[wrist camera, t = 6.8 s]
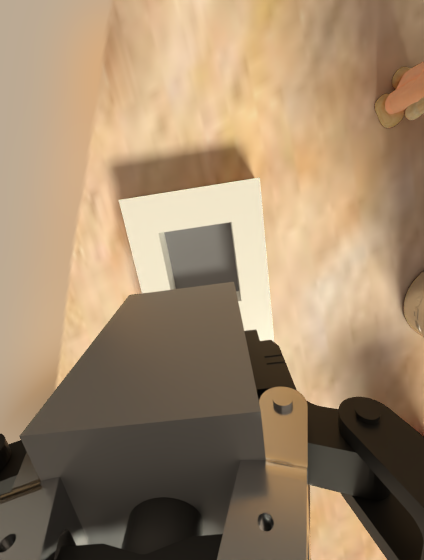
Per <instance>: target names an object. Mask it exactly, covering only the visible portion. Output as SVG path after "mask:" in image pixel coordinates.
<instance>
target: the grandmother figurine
mask: <svg viewBox="0 0 424 560" xmlns="http://www.w3.org/2000/svg"><path fill="white" fill-rule="evenodd" d="M392 85H393V87H394V88H395V89H396V90H395V91H393V92H392V93H391V94H384V95H382V96H381V97H380V98H379V99H378V100H377V101H376V103H375V111H376V114H377V116H378V118H379V120H380V122H381V124H382V126H384V127H385V128H391V127H394V126H395V125H397V124H398V123H399V122H400V121H401V120H402V118H403V116H404V109H406V108H407V109H406V111H405V116H406V118H407V119H409V120H415V119H417V118H418V117H420V116H421V115H422V114H424V62H422V63H420V64H418V65H416V66H415V67H413V68H409V67H401V68H400V69H398V70H397V71H396V73H395V75H394V76H393V79H392Z"/></svg>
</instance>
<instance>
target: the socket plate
mask: <svg viewBox="0 0 424 560" xmlns="http://www.w3.org/2000/svg"><path fill="white" fill-rule="evenodd" d="M119 204H120V208H121V212H122V216H123V220H124V224H125V228H126V232H127V236H128V240H129V244H130V248H131V252H132V256H133V260H134V264H135V268H136V272H137V276H138V279H139V283H140V287H141V291H142V293H150V292H158V291H165V290H173V289H181V288H189V287H196V286H204V285H212V284H220V283H228V282H234V284H235V288H236V293H237V298H238V303H239V308H240V313H241V318H242V322H243V327H244V331H246V330H255V329H256V330H257V333H258V336H259V340H260V341H264V340H272V341H273V342H274V332H273V321H272V310H271V299H270V287H269V276H268V265H267V254H266V242H265V231H264V220H263V208H262V197H261V186H260V178H253V179H247V180H241V181H235V182H228V183H222V184H216V185H210V186H203V187H197V188H191V189H185V190H178V191H172V192H166V193H159V194H153V195H147V196H141V197H134V198H128V199H122V200H119Z"/></svg>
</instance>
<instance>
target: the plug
mask: <svg viewBox="0 0 424 560" xmlns="http://www.w3.org/2000/svg"><path fill="white" fill-rule="evenodd" d="M20 439H21V441H22V443H23V445H24V447H25V449H26V451H27V453H28V455H29V457H30V459H31V462H32V464H33V466H34V468H35V470H36V472H37V474H38V476H39V478H40V480H41V481H42V480H46V479H51V478H55V477H60V478H61V480H62V482H63V485H64V487H65V489H66V491H67V494H68V496H69V498H70V500H71V503H72V505H73V507H74V509H75V512H76V514H77V516H78V519H79V521H80V523H81V525H82V528H83V530H84V532H85V534H86V537H87V539H88V541H89V543H90V544H102V543H103V544H107V545H110V546H114V547H117V548H120V549H124V550H127V551H131V552H134V553H138V554H148V553H150V552H153V551H155V550H158V549H160V548H163V547H166V546H168V545H171V544H173V543H176V542H178V541H181V540H183V539H186V538H188V537H191V536H202V535H215V534H223V531H224V527H225V523H226V518H227V514H228V510H229V506H230V501H231V497H232V493H233V488H234V484H235V480H236V476H237V471H238V467H239V463H240V460H266V456H265V446H264V437H263V427H262V418H261V410H260V405H259V400H258V395H257V390H256V385H255V381H254V376H253V371H252V366H251V361H250V356H249V351H248V347H247V342H246V337H245V332H244V327H243V322H242V318H241V313H240V308H239V303H238V298H237V293H236V288H235V284H234V282H228V283H220V284H212V285H204V286H196V287H189V288H181V289H173V290H165V291H158V292H150V293H142V294H134V295H129V296H128V298H127V299H126V300H125V301H124V303H123V304H122V305H121V306H120V308H119V309H118V310H117V312H116V313H115V314H114V315H113V317H112V318H111V319H110V321H109V322H108V323H107V324H106V326H105V327H104V328H103V330H102V331H101V332H100V333H99V335H98V336H97V337H96V339H95V340H94V341H93V342H92V344H91V345H90V346H89V348H88V349H87V350H86V351H85V353H84V354H83V355H82V357H81V358H80V359H79V360H78V362H77V363H76V364H75V366H74V367H73V368H72V369H71V371H70V372H69V373H68V375H67V376H66V377H65V378H64V380H63V381H62V382H61V384H60V385H59V386H58V387H57V389H56V390H55V391H54V393H53V394H52V395H51V396H50V398H49V399H48V400H47V402H46V403H45V404H44V405H43V407H42V408H41V409H40V411H39V412H38V413H37V415H36V416H35V417H34V418H33V420H32V421H31V422H30V423H29V425H28V426H27V427H26V429H25V430H24V431H23V432H22V434H21V435H20Z"/></svg>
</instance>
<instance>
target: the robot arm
mask: <svg viewBox="0 0 424 560" xmlns="http://www.w3.org/2000/svg"><path fill="white" fill-rule="evenodd" d="M404 315H405V318H406V321H407V322H408V324H409V326H410V327H411V328H412V329H413V330H415V331H416V332H417V333H418V334H420V335H421V336H423V337H424V271H423V272H422V273H421V274H420V275H419V276H418V277H417V278H416V279H415V280H414V281H413V283H412V284H411V286H410V287H409V289H408V291H407V294H406V296H405V300H404ZM244 332H245V337H246V342H247V347H248V351H249V356H250V361H251V366H252V371H253V376H254V381H255V385H256V390H257V395H258V400H259V405H260V410H261V418H262V427H263V437H264V446H265V456H266V460H240V463H239V467H238V471H237V476H236V480H235V484H234V488H233V493H232V497H231V501H230V506H229V510H228V514H227V518H226V523H225V527H224V531H223V534H215V535H202V536H191V537H188V538H186V539H183V540H181V541H178V542H176V543H173V544H171V545H168V546H166V547H163V548H160V549H158V550H155V551H153V552H150V553H148V554H138V553H134V552H131V551H127V550H124V549H120V548H117V547H114V546H110V545H107V544H103V543H102V544H90V543H89V541H88V539H87V537H86V534H85V532H84V530H83V528H82V525H81V523H80V521H79V519H78V516H77V514H76V512H75V509H74V507H73V505H72V503H71V500H70V498H69V496H68V494H67V491H66V489H65V487H64V485H63V482H62V480H61V478H60V477H55V478H51V479H46V480H42V481H41V480H40V478H39V476H38V474H37V472H36V470H35V468H34V466H33V464H32V462H31V459H30V457H29V455H28V453H27V451H26V449H25V447H24V445H23V443H22V441H21V440H20V441H17V442H14V443H11V444H8V443H7V441H6V439H5V437H4V435H2V434H0V560H311V555H310V485H313V486H317V487H321V488H325V489H329V490H333V491H336V492H340V493H341V494H342V496H343V497H344V499H345V500H346V502H347V503H348V504H349V506H350V507H351V509H352V510H353V511H354V513H355V514H356V516H357V517H358V519H359V520H360V521H361V523H362V524H363V526H364V527H365V528H366V530H367V531H368V533H369V534H370V536H371V537H372V538H373V540H374V541H375V543H376V544H377V545H378V547H379V548H380V550H381V551H382V553H383V554H384V555H385V557H386V558H387V560H424V437H423V436H422V435H421V434H420V433H418V432H417V431H416V430H415V429H414V428H412V427H411V426H410V425H409V424H407V423H406V422H405V421H404V420H403V419H401V418H400V417H399V416H398V415H396V414H395V413H394V412H393V411H392V410H390V409H389V408H388V407H386V406H385V405H384V404H382V403H380V402H378V401H376V400H373V399H370V398H365V397H352V398H348V399H346V400H344V401H343V402H342V403H341V404H340V406H339V409H333V408H327V407H321V406H317V405H314V404H312V403H310V402H308V401H306V399H305V397H304V396H303V395H302V394H301V393H300V392H298V391H297V390H296V387H295V385H294V383H293V380H292V378H291V375H290V373H289V370H288V368H287V365H286V363H285V360H284V358H283V356H282V353H281V350H280V348H279V346H278V345H277V344H276V343H274V342H273V341H272V340H264V341H260V340H259V336H258V333H257V330H256V329H255V330H246V331H244Z"/></svg>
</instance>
